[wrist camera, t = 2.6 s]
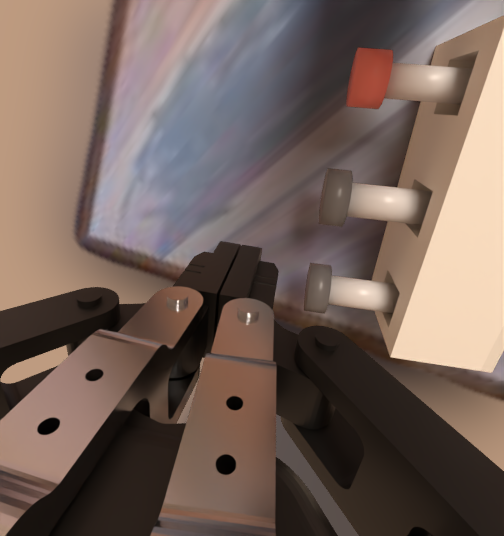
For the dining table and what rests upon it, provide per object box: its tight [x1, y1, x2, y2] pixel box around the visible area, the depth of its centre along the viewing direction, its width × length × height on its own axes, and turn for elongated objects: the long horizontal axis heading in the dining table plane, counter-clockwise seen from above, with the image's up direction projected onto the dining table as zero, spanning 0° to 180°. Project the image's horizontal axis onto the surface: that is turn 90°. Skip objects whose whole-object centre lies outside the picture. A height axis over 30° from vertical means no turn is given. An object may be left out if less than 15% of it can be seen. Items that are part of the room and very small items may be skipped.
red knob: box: [346, 48, 473, 109], centre depth 26 cm, size 9×4×4 cm, turn 86°
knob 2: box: [304, 263, 400, 313], centre depth 34 cm, size 9×5×5 cm, turn 86°
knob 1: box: [319, 168, 432, 227], centre depth 30 cm, size 9×5×5 cm, turn 86°
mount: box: [371, 16, 504, 373], centre depth 30 cm, size 9×26×12 cm, turn 176°
